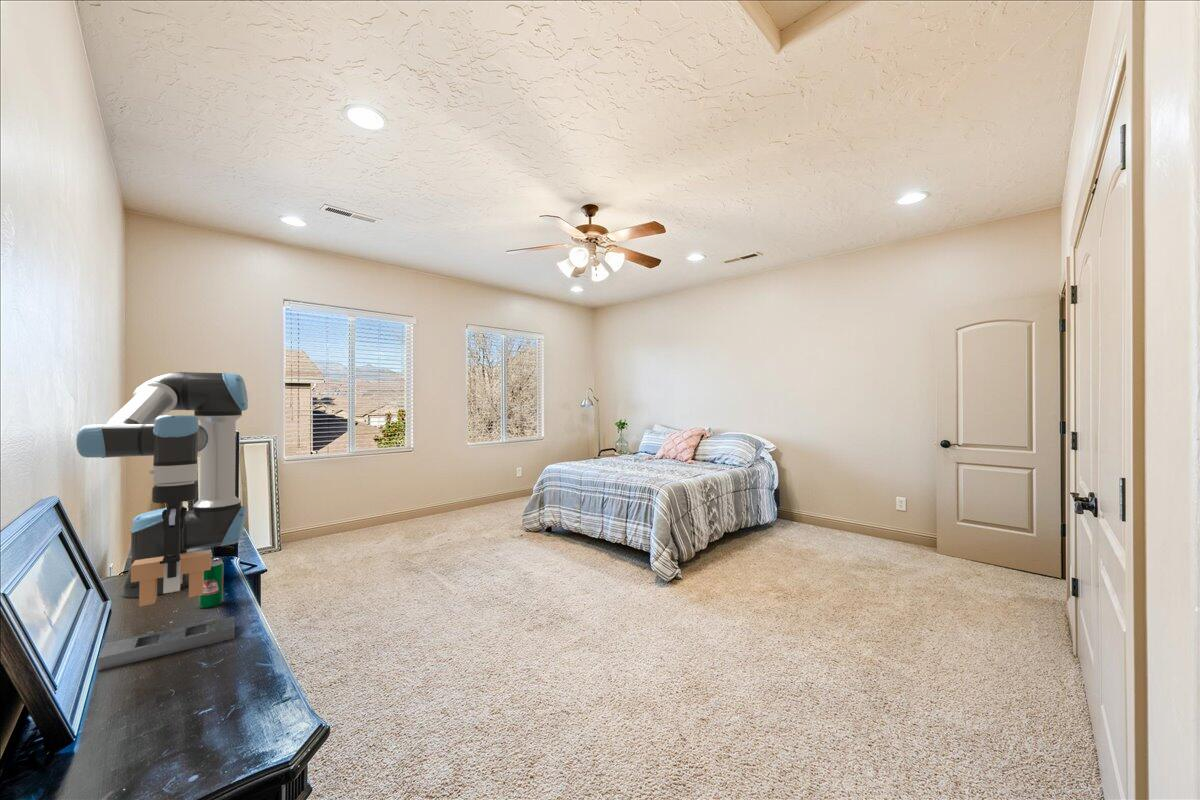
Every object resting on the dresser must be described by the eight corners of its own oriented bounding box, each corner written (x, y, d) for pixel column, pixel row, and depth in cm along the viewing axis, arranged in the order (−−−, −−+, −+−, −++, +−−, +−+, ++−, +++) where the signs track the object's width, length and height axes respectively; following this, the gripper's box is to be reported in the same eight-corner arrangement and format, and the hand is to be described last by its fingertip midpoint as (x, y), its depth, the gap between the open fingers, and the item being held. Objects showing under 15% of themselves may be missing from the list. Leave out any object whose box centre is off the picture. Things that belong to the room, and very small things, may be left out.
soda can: (195, 610, 125) (195, 564, 125) (204, 602, 130) (204, 558, 130) (218, 607, 127) (218, 562, 127) (226, 600, 131) (226, 557, 132)
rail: (105, 654, 102) (106, 643, 102) (234, 626, 115) (234, 615, 116) (97, 670, 96) (97, 658, 96) (234, 638, 109) (234, 627, 109)
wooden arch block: (133, 601, 103) (135, 560, 104) (210, 588, 111) (211, 549, 112) (130, 608, 100) (131, 565, 100) (209, 594, 108) (210, 554, 108)
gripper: (157, 480, 111) (155, 580, 110) (146, 489, 97) (143, 604, 96) (199, 478, 116) (197, 574, 115) (194, 486, 102) (192, 595, 101)
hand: (173, 587), depth 106 cm, fingers closed on wooden arch block, 5 cm apart
